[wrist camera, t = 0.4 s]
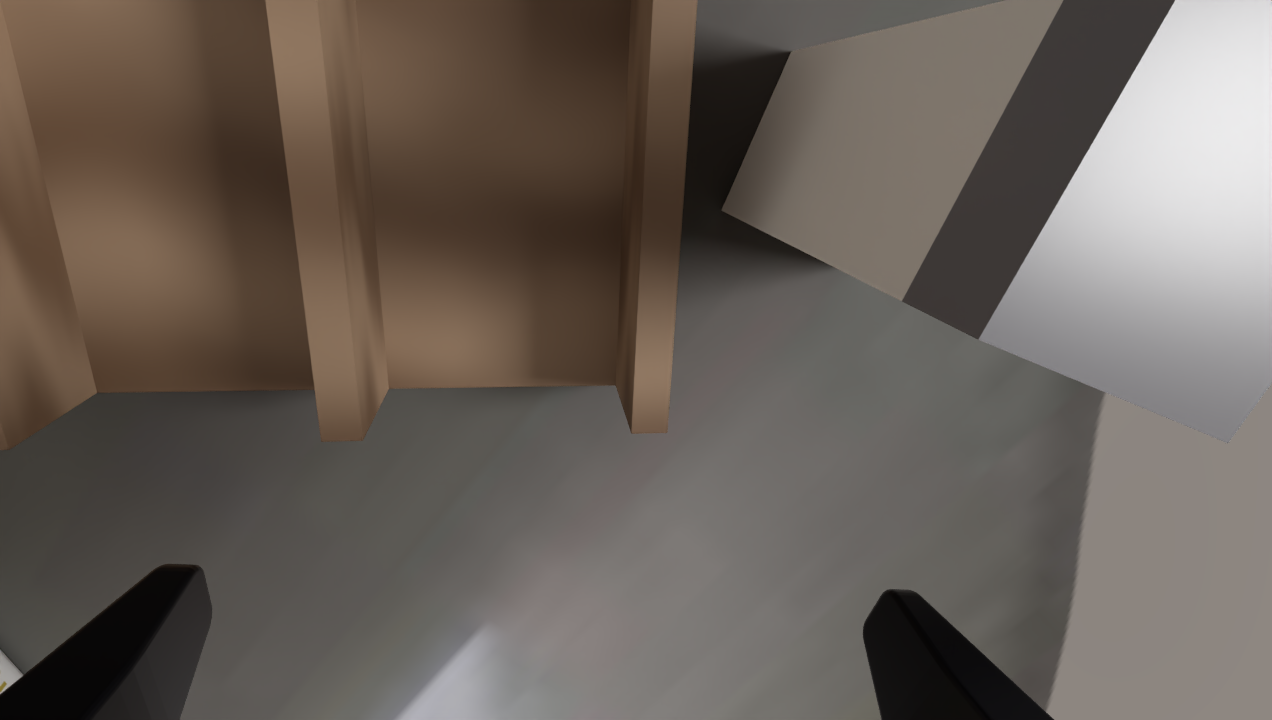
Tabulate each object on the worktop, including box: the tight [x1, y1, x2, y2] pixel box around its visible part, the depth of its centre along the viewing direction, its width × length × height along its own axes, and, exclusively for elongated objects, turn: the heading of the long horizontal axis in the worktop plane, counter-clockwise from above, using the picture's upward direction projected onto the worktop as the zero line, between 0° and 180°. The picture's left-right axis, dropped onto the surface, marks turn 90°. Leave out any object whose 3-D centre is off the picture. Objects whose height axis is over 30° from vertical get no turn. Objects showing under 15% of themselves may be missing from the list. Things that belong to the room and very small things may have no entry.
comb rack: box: [0, 0, 697, 450], centre depth 16 cm, size 12×25×4 cm, turn 87°
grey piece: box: [721, 0, 1272, 443], centre depth 15 cm, size 5×5×13 cm
